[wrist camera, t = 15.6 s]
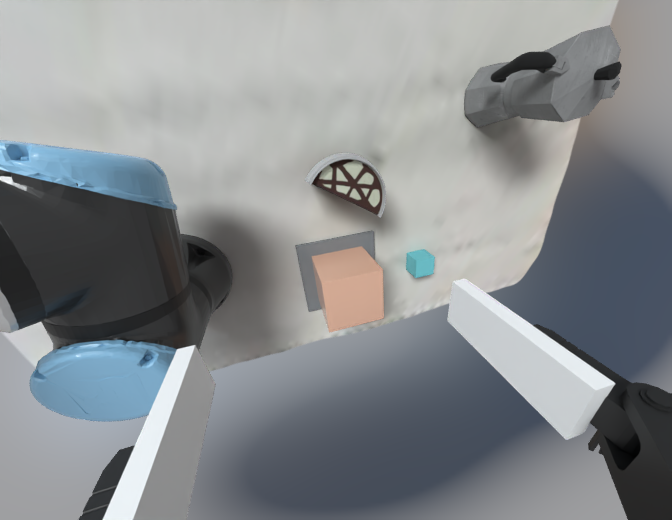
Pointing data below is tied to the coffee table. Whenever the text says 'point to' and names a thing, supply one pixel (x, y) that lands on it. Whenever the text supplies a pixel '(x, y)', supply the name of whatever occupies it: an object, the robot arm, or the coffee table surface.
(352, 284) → the salmon peach cube
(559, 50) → the coffeepot
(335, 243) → the mat
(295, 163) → the coffee table surface
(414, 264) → the fully visible block
